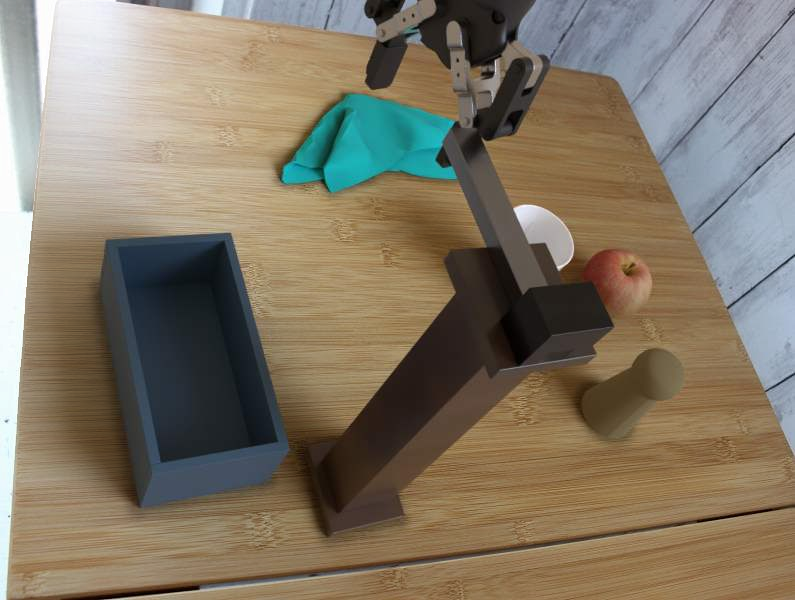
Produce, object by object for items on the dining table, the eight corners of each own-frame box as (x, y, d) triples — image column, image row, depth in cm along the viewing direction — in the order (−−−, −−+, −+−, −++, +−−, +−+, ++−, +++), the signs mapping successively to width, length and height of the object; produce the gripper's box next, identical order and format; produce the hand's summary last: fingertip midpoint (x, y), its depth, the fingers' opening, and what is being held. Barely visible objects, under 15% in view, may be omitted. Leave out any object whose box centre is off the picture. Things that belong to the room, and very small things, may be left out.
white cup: (531, 273, 95) (577, 223, 87) (522, 328, 91) (570, 280, 83) (469, 246, 94) (510, 192, 86) (457, 300, 89) (499, 248, 81)
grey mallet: (580, 357, 48) (615, 327, 45) (518, 367, 46) (550, 336, 43) (483, 141, 55) (508, 103, 52) (425, 142, 53) (448, 102, 50)
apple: (579, 329, 93) (619, 293, 87) (559, 269, 97) (597, 230, 91) (636, 330, 97) (679, 295, 90) (615, 272, 100) (655, 234, 94)
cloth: (444, 94, 106) (451, 82, 104) (487, 180, 101) (495, 168, 99) (249, 99, 93) (254, 84, 92) (286, 197, 88) (292, 184, 86)
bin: (266, 483, 71) (290, 449, 65) (139, 508, 66) (151, 475, 60) (214, 278, 80) (231, 232, 74) (98, 288, 75) (105, 239, 69)
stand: (400, 520, 74) (598, 355, 49) (327, 538, 71) (499, 370, 45) (374, 436, 77) (545, 242, 52) (303, 450, 74) (450, 249, 49)
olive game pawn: (589, 376, 90) (650, 327, 82) (636, 406, 91) (701, 360, 82) (574, 418, 87) (635, 371, 78) (622, 449, 87) (689, 406, 78)
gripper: (393, -159, 49) (315, 68, 60) (552, -16, 44) (434, 202, 55) (478, -151, 54) (391, 57, 65) (631, -22, 49) (507, 180, 60)
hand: (411, 124), depth 60 cm, fingers open, 8 cm apart
